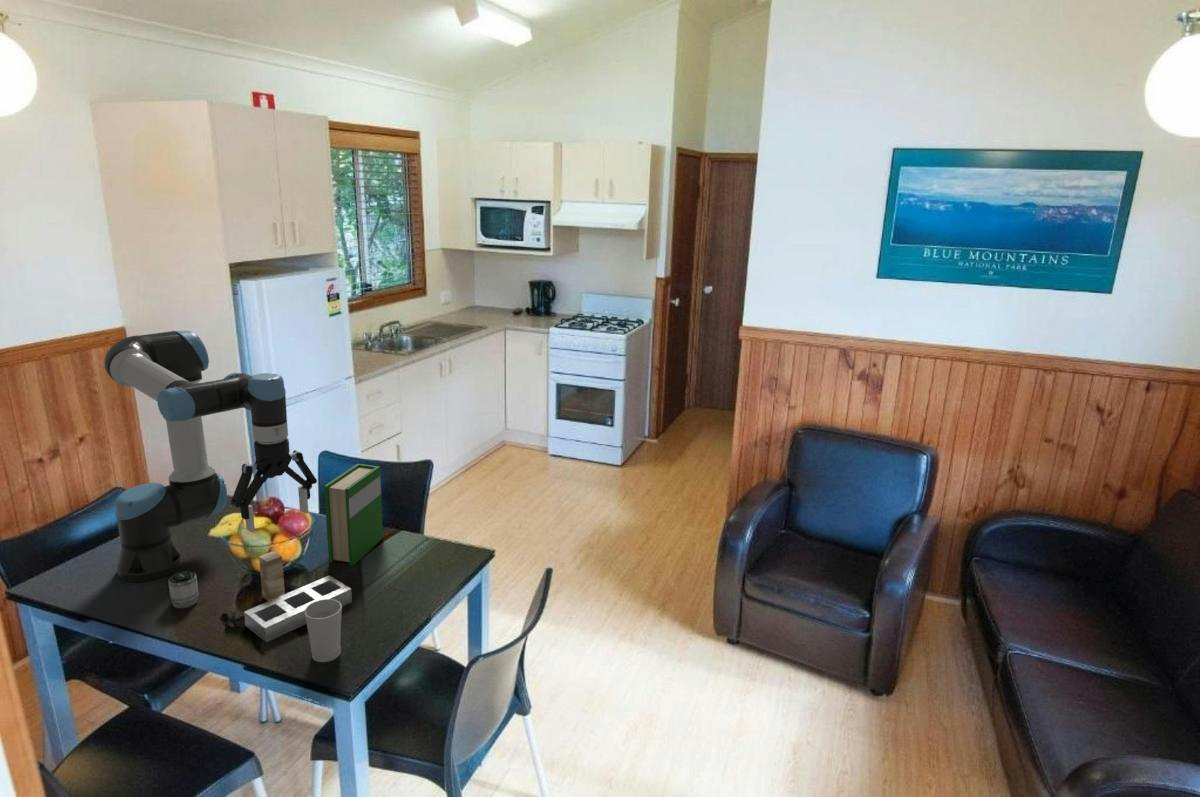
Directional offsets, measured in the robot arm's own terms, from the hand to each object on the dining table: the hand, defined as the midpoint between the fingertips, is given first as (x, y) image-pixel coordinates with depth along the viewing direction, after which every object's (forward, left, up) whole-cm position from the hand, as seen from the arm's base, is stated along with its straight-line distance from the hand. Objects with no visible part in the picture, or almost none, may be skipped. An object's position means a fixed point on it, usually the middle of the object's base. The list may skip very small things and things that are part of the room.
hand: (278, 520), depth 172 cm
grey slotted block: (+4, +2, -25) cm, 26 cm away
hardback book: (-14, +30, -26) cm, 42 cm away
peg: (-8, +1, -25) cm, 27 cm away
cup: (+23, -3, -26) cm, 34 cm away
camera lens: (-22, -15, -26) cm, 37 cm away
